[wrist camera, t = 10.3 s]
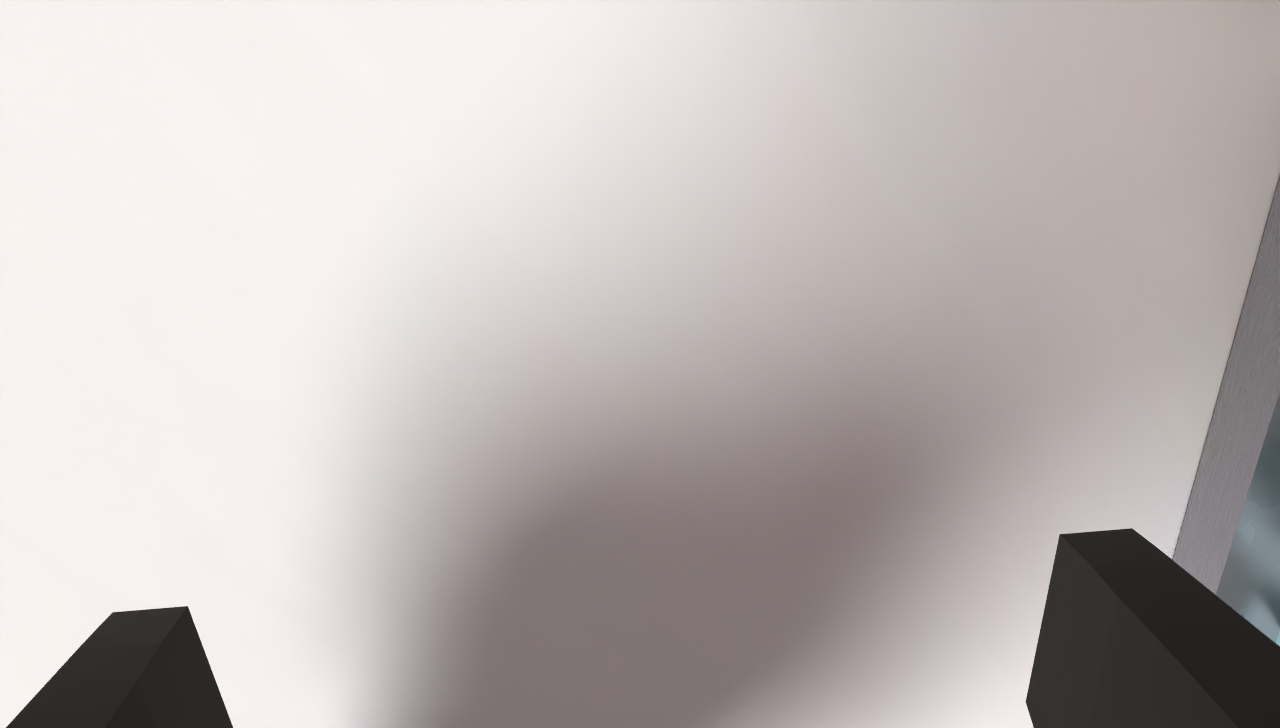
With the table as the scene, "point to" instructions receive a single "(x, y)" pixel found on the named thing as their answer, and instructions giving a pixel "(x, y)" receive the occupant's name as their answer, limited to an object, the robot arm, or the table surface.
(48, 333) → the table surface
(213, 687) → the robot arm
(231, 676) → the table surface
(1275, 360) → the carrier
